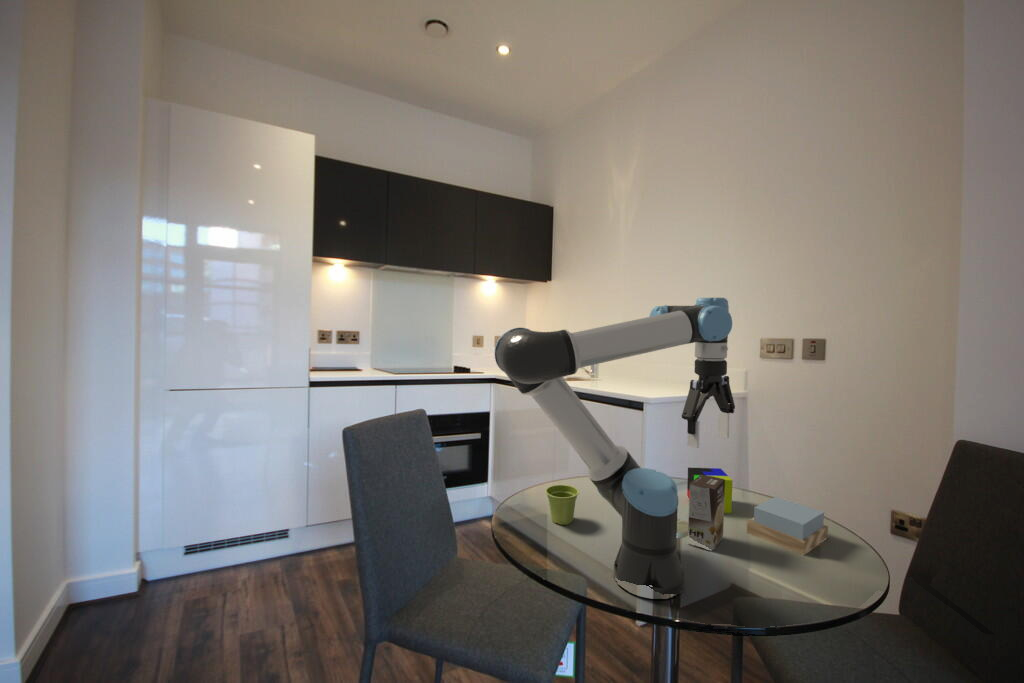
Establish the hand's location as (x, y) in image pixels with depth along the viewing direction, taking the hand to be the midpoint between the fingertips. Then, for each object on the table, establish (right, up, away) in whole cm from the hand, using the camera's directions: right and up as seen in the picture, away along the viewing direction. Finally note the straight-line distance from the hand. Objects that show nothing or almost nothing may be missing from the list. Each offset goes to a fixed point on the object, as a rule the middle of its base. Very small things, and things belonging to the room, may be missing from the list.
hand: (708, 441), depth 119 cm
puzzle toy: (+10, -25, +24) cm, 36 cm away
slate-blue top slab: (+23, -23, +4) cm, 32 cm away
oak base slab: (+23, -27, +5) cm, 35 cm away
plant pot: (-36, -26, +14) cm, 46 cm away
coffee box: (0, -27, +2) cm, 27 cm away
